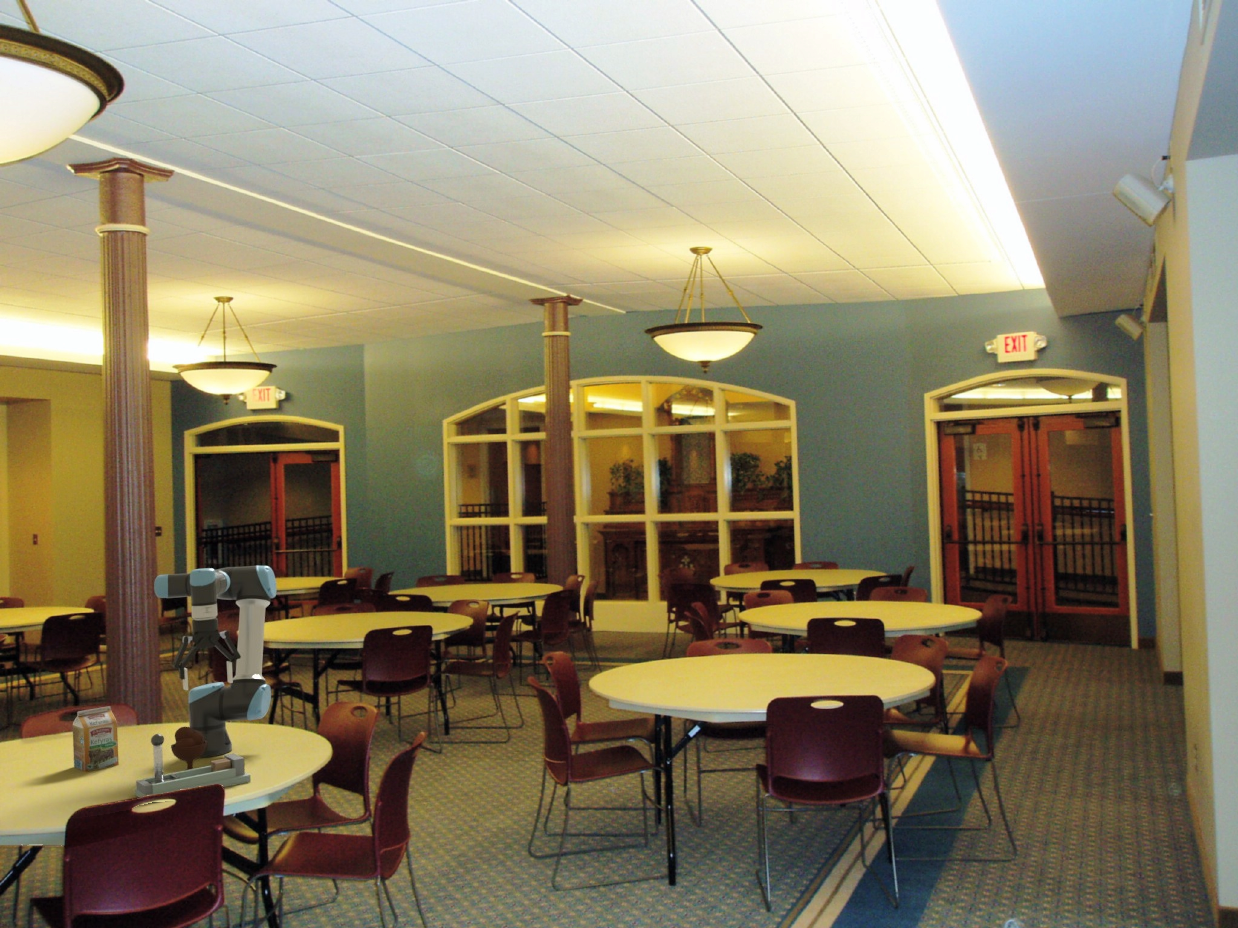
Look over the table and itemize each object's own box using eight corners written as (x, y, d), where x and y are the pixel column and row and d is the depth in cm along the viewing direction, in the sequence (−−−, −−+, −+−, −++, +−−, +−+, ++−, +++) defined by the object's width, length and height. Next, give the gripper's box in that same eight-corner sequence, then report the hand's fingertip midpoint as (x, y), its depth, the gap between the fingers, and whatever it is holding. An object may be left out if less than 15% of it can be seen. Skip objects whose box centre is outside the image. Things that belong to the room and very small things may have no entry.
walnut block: (211, 775, 332) (210, 760, 332) (226, 772, 335) (225, 758, 335) (216, 778, 328) (215, 763, 328) (231, 775, 331) (230, 760, 331)
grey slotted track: (134, 794, 322) (133, 770, 322) (235, 773, 341) (234, 751, 341) (147, 803, 312) (146, 778, 312) (250, 781, 330) (249, 758, 331)
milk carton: (107, 760, 368) (104, 704, 369) (118, 764, 361) (116, 707, 361) (74, 766, 361) (71, 709, 361) (85, 771, 353) (82, 713, 354)
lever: (148, 786, 321) (146, 733, 322) (173, 781, 326) (171, 729, 326) (155, 791, 316) (153, 736, 316) (180, 785, 320) (178, 732, 321)
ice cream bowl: (186, 779, 337) (185, 731, 337) (164, 775, 342) (162, 728, 343) (215, 771, 346) (213, 724, 346) (193, 767, 351) (191, 721, 352)
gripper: (166, 624, 328) (170, 694, 328) (248, 614, 343) (252, 680, 343) (159, 622, 333) (163, 690, 334) (241, 612, 349) (244, 677, 349)
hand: (208, 685), depth 338 cm, fingers open, 13 cm apart
